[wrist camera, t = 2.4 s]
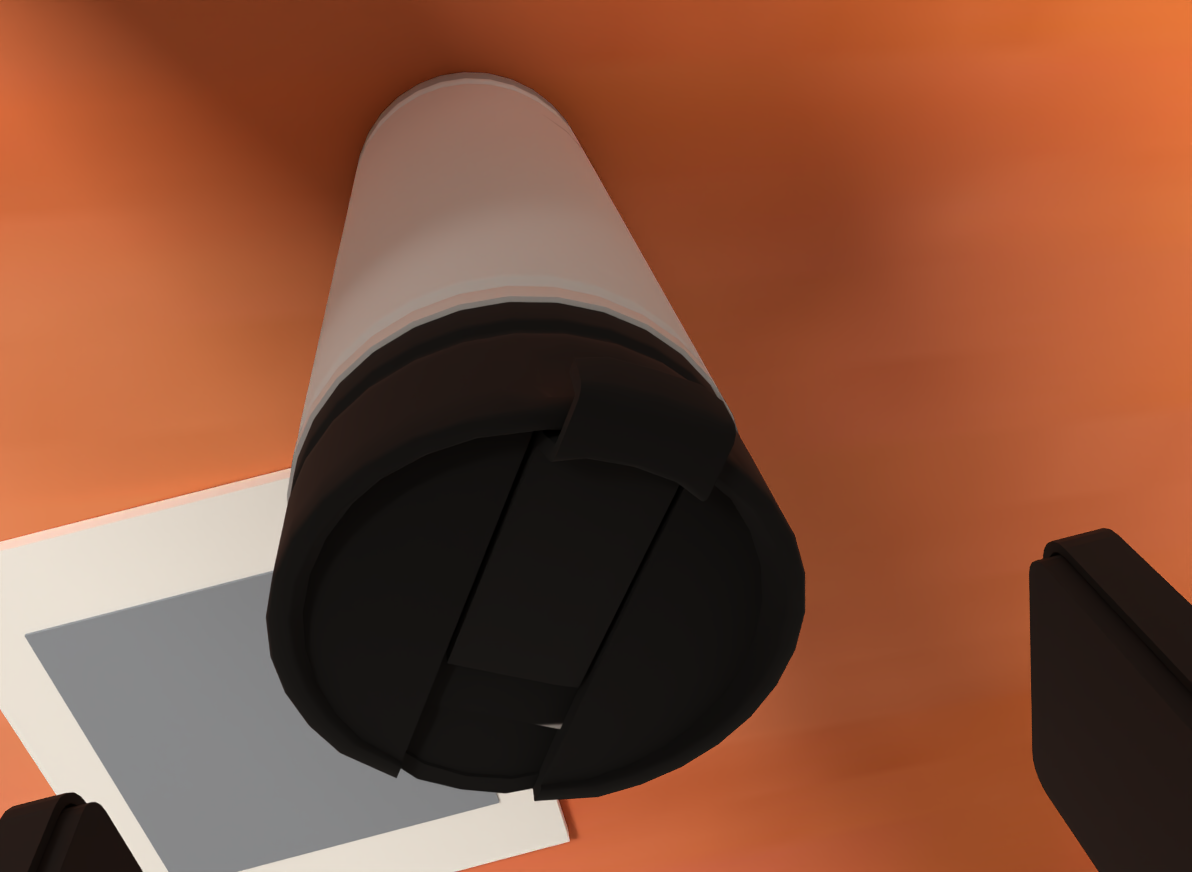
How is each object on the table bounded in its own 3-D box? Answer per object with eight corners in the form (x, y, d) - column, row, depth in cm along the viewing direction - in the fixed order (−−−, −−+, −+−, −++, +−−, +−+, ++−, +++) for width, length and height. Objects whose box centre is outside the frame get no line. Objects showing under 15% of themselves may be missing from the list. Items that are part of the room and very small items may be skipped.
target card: (-81, 561, 32) (-90, 575, 31) (439, 430, 32) (439, 441, 32) (161, 936, 41) (157, 952, 40) (567, 828, 41) (570, 843, 41)
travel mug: (625, 105, 29) (938, 476, 11) (543, 324, 31) (694, 902, 14) (397, 20, 27) (347, 305, 9) (330, 260, 30) (195, 830, 12)
